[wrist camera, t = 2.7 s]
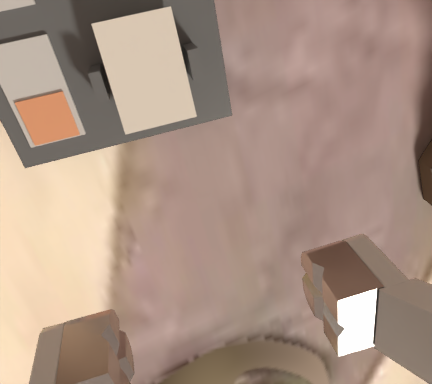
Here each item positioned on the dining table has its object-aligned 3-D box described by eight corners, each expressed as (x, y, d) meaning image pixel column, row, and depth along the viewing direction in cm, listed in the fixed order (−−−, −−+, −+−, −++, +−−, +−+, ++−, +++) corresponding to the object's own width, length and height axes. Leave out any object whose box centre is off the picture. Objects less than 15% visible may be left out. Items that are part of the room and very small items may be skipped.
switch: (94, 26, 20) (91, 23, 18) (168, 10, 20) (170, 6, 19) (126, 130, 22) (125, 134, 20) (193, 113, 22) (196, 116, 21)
